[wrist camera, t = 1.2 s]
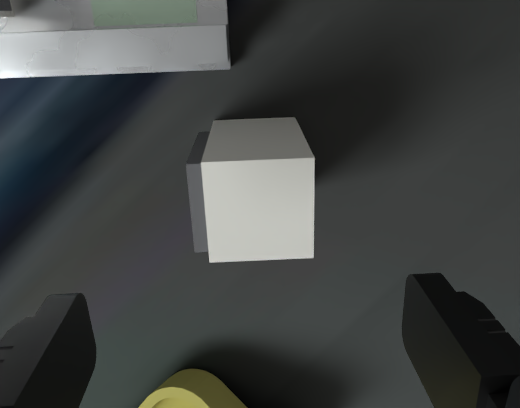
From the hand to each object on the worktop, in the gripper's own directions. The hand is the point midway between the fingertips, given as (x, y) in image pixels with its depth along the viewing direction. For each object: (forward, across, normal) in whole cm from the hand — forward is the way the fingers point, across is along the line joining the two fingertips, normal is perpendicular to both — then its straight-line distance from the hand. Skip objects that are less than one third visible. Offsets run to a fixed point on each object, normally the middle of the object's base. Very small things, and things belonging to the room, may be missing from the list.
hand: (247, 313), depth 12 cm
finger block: (+13, -1, 0) cm, 13 cm away
